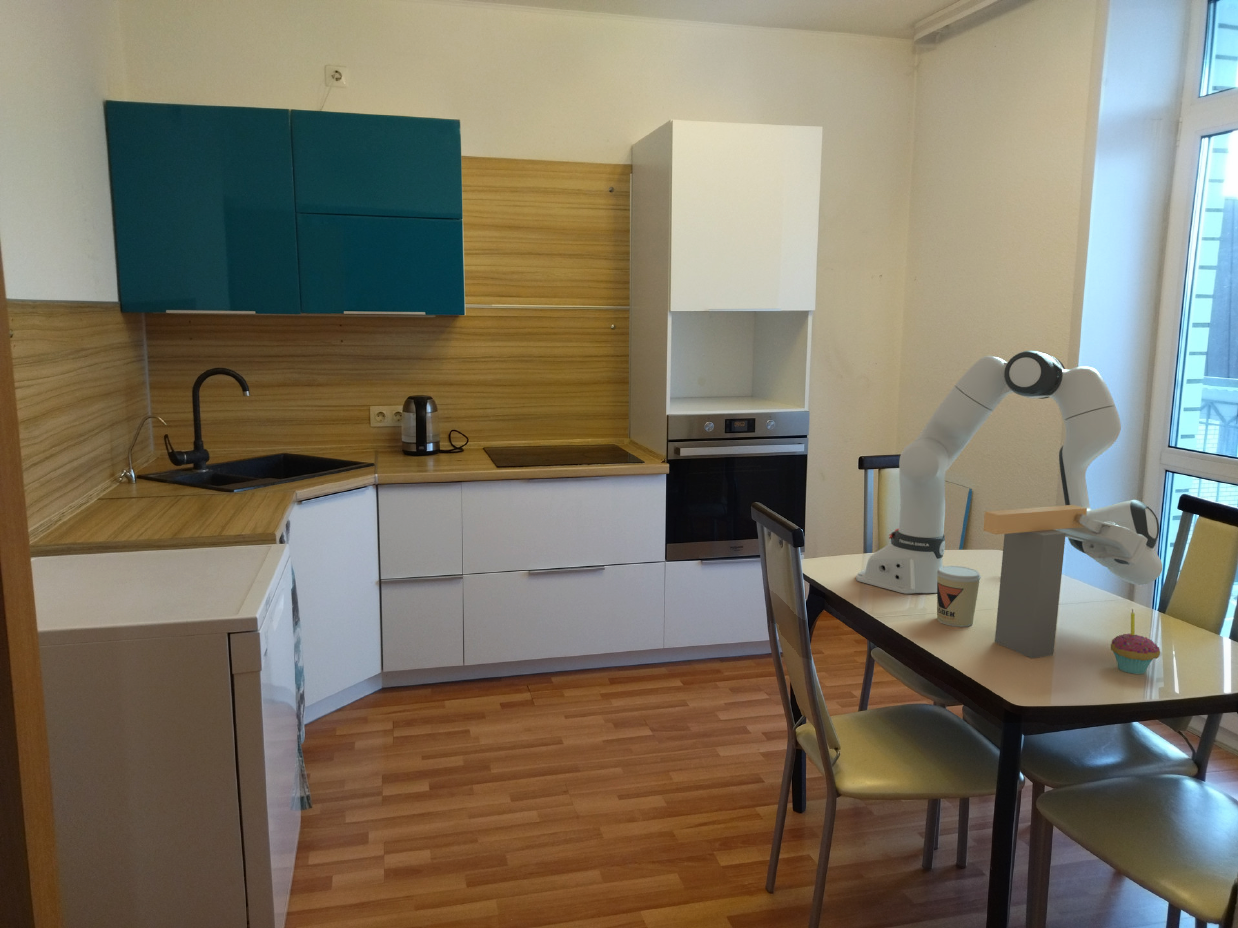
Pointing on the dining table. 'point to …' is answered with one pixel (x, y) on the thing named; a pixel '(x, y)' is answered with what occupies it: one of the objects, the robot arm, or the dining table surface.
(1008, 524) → the bar
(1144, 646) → the cupcake
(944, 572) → the coffee cup
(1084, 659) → the dining table surface
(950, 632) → the dining table surface
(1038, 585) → the stand
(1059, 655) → the dining table surface
